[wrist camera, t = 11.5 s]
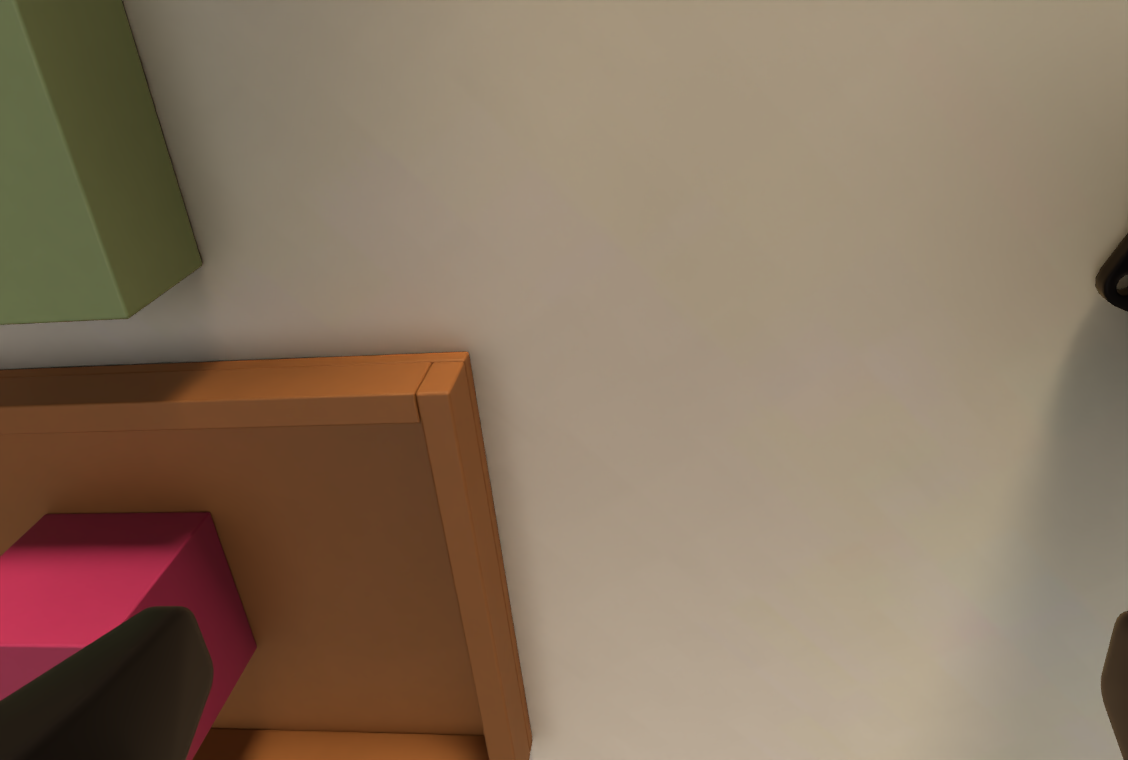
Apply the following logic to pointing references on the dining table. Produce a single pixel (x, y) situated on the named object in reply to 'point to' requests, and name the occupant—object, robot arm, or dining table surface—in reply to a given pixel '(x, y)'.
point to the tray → (305, 536)
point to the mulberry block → (118, 592)
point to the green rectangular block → (82, 169)
